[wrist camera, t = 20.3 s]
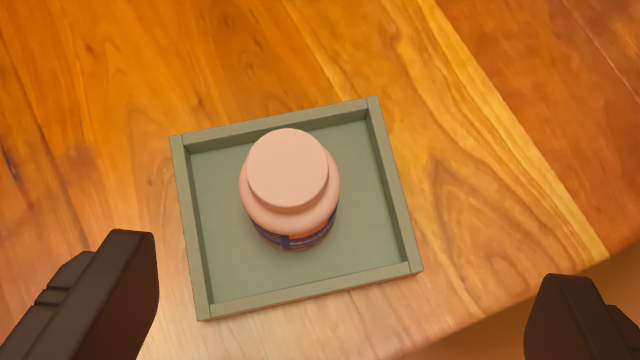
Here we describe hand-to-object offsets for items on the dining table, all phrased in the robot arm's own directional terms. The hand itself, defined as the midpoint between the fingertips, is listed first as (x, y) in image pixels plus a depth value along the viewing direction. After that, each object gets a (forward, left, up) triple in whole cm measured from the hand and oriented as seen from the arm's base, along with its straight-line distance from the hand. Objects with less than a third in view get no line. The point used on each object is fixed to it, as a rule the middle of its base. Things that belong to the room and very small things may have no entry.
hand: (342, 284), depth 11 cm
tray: (0, -7, -23) cm, 24 cm away
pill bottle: (0, -7, -23) cm, 24 cm away
